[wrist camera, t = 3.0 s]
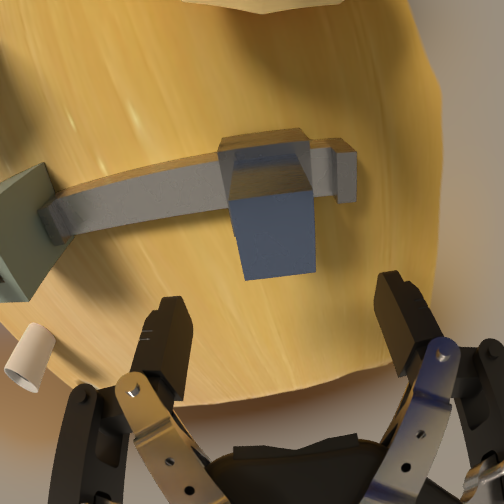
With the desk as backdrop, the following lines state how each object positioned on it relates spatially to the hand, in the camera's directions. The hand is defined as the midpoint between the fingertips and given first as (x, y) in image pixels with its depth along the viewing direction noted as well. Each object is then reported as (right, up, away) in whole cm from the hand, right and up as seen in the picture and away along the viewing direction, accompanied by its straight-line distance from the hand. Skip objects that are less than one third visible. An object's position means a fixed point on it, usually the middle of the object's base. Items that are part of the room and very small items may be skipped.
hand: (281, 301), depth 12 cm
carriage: (0, +9, +12) cm, 15 cm away
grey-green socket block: (-25, +7, +13) cm, 29 cm away
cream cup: (-37, -12, +27) cm, 47 cm away
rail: (-7, +8, +13) cm, 17 cm away
